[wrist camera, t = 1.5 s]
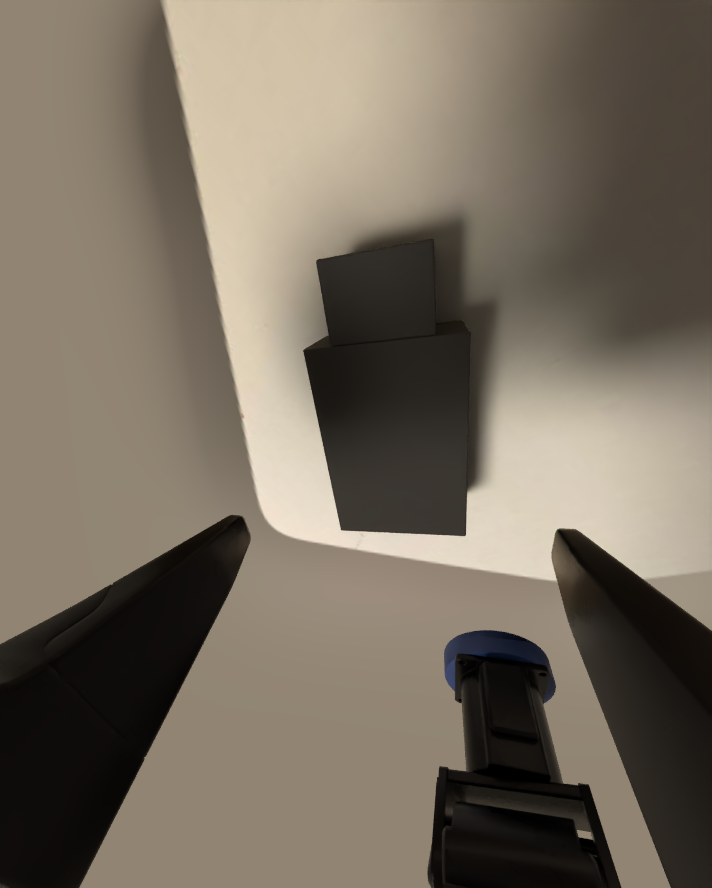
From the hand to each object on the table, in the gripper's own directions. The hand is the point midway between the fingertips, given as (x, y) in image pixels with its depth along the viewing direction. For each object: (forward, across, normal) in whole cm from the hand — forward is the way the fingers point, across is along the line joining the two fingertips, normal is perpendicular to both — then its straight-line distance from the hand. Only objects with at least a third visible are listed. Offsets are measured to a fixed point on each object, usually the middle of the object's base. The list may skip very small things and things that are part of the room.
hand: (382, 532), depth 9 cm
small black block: (+8, 0, -1) cm, 8 cm away
